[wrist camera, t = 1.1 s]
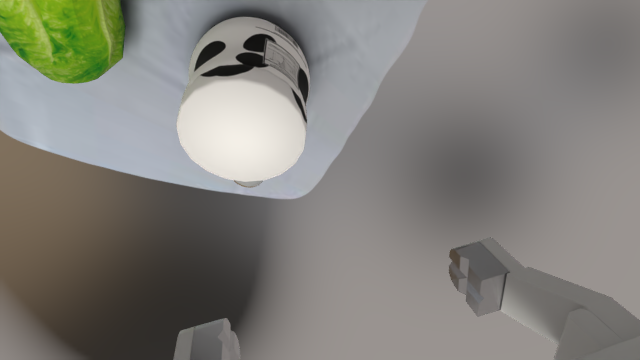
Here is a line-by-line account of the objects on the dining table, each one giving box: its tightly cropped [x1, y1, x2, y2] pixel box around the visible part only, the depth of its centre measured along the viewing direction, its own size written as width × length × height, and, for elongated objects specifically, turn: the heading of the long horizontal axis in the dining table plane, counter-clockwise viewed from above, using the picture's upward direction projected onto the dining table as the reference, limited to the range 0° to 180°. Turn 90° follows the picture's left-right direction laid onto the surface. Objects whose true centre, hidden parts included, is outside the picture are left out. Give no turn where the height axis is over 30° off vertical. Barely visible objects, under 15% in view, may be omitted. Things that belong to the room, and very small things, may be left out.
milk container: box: [177, 17, 310, 182], centre depth 45 cm, size 17×17×18 cm
